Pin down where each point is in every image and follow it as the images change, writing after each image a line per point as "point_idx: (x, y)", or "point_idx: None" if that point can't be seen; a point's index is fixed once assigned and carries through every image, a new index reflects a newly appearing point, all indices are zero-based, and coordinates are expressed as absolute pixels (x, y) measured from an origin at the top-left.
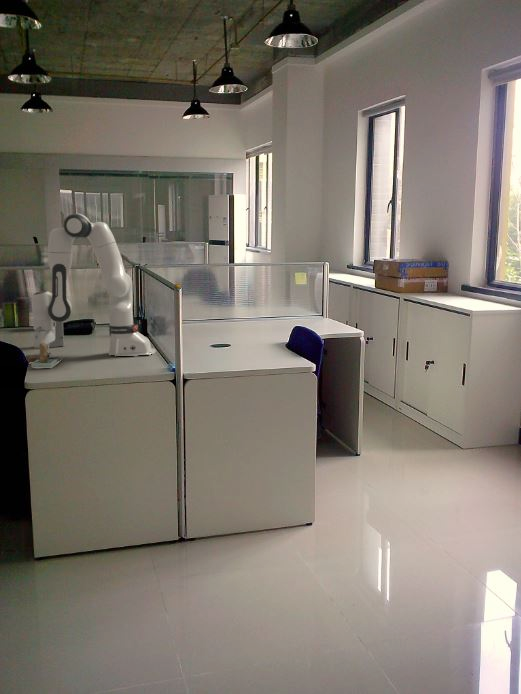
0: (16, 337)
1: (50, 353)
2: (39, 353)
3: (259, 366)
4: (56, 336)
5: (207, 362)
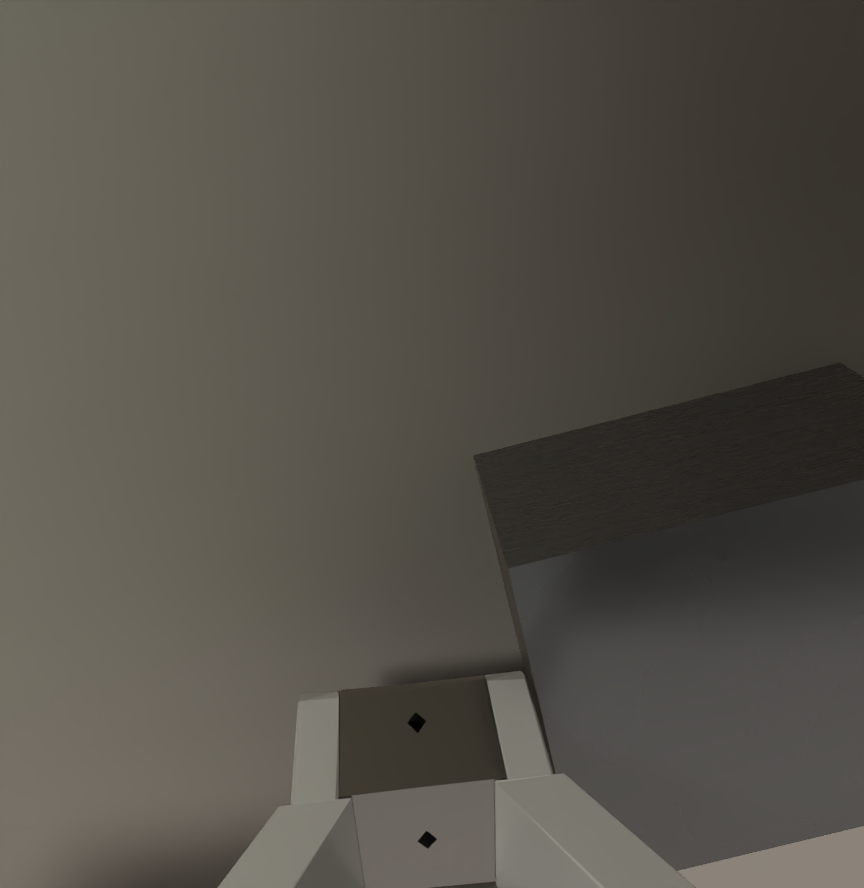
0: None
1: (596, 534)
2: None
3: None
4: None
5: None
